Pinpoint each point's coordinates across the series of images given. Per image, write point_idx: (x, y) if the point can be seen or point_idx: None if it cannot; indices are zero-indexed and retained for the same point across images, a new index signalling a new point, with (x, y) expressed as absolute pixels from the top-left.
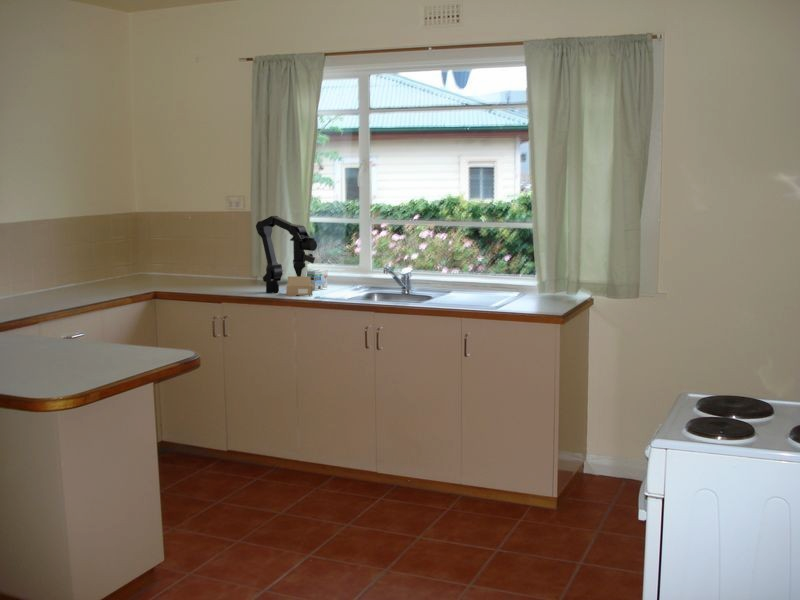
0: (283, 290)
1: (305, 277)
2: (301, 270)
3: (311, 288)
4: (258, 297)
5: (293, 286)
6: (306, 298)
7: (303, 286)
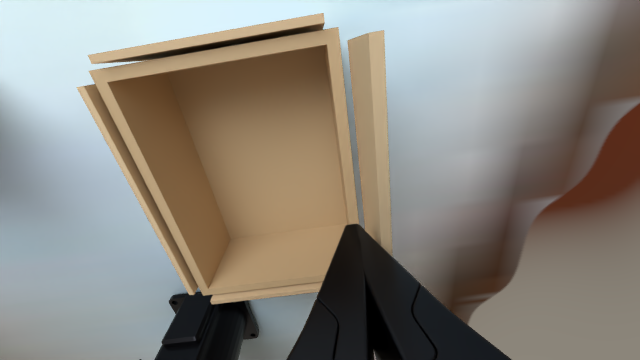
0: (100, 275)
1: (385, 150)
2: (490, 350)
3: (217, 45)
4: None
5: (196, 236)
6: (481, 64)
7: (158, 152)
